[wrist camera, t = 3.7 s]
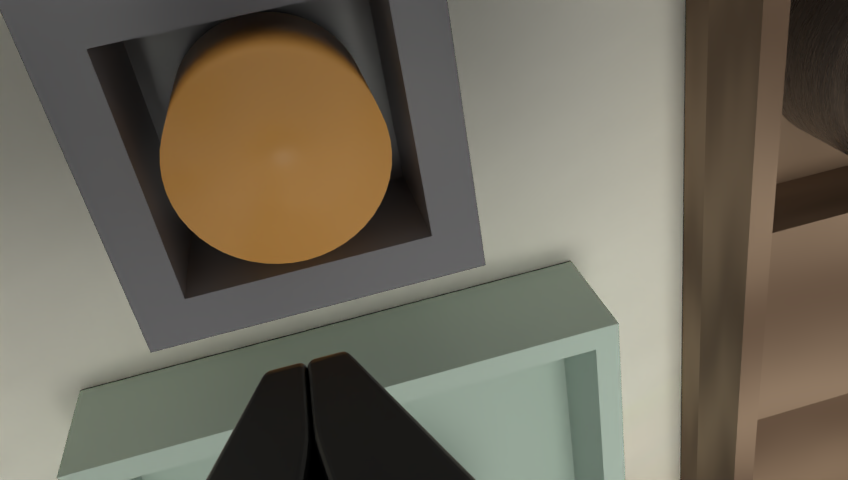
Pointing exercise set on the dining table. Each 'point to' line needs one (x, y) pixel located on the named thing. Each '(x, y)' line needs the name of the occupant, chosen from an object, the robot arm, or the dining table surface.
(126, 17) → the button housing
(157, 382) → the sage tote
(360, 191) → the button
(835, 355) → the walnut pallet
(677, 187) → the dining table surface
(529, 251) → the dining table surface
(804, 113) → the seated steel billet
